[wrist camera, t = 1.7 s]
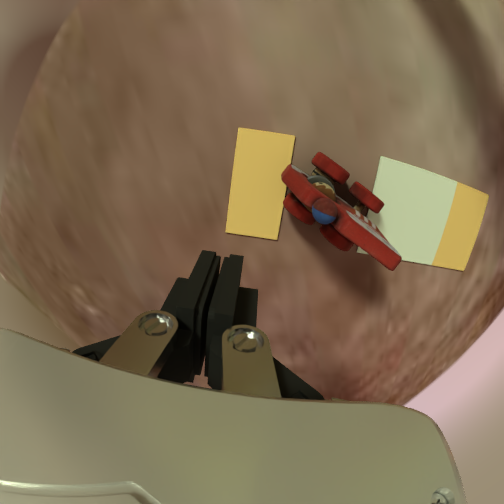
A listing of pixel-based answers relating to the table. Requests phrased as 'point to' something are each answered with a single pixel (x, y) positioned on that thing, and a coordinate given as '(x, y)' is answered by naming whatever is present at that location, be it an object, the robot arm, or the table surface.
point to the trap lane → (387, 220)
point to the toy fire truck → (337, 209)
